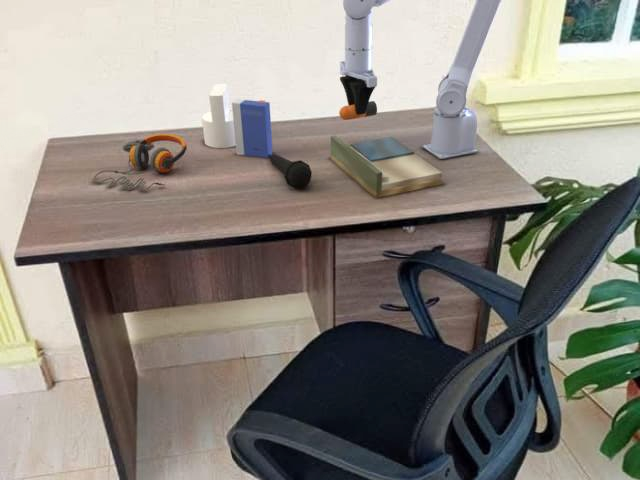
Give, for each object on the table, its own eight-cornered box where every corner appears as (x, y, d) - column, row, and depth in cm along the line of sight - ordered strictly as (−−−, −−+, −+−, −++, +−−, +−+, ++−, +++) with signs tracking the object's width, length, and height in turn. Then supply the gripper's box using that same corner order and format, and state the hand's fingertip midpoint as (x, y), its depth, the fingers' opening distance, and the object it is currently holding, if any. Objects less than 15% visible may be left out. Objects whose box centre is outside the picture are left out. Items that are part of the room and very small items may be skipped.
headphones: (82, 172, 136) (137, 120, 147) (92, 193, 139) (144, 141, 151) (149, 186, 130) (201, 131, 141) (157, 207, 134) (207, 152, 145)
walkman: (272, 153, 149) (269, 100, 142) (267, 158, 147) (264, 104, 140) (241, 149, 152) (236, 97, 144) (236, 154, 149) (231, 101, 142)
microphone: (263, 172, 148) (297, 197, 132) (253, 149, 145) (286, 172, 129) (284, 161, 149) (320, 184, 133) (274, 138, 146) (310, 158, 129)
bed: (391, 147, 151) (392, 125, 148) (442, 184, 135) (444, 160, 132) (330, 159, 146) (330, 136, 143) (376, 198, 130) (377, 173, 127)
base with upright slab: (240, 147, 153) (236, 95, 145) (202, 148, 153) (195, 96, 146) (244, 133, 160) (240, 83, 153) (207, 134, 160) (201, 84, 153)
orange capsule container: (371, 112, 151) (371, 99, 149) (377, 116, 149) (377, 103, 147) (337, 118, 148) (336, 105, 147) (342, 123, 146) (342, 109, 144)
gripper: (327, 42, 144) (328, 104, 152) (356, 57, 133) (355, 124, 141) (356, 38, 146) (355, 100, 154) (387, 53, 135) (384, 119, 143)
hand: (357, 111), depth 148 cm, fingers closed on orange capsule container, 3 cm apart
